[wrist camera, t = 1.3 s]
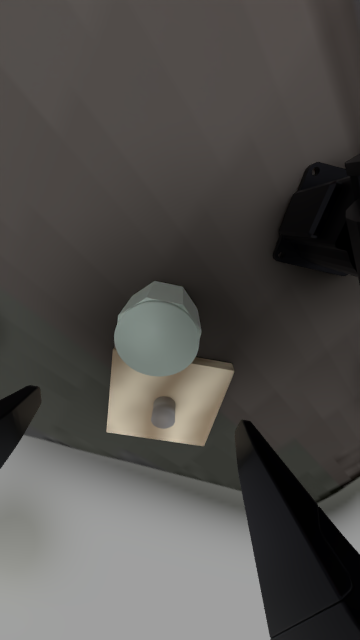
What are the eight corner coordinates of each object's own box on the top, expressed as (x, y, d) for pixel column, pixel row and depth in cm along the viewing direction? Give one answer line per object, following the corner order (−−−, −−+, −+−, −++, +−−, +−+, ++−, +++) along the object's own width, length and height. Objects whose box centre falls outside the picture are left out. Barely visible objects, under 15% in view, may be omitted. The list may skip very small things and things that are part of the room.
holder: (231, 363, 21) (239, 385, 18) (202, 436, 26) (205, 463, 23) (116, 342, 20) (105, 362, 17) (109, 423, 25) (100, 448, 22)
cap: (202, 290, 18) (209, 313, 13) (187, 347, 20) (188, 382, 16) (134, 276, 17) (117, 294, 13) (127, 336, 20) (111, 369, 15)
